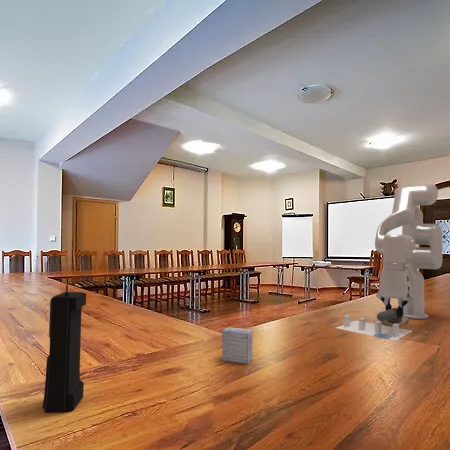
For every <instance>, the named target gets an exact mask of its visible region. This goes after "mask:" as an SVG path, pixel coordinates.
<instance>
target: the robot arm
mask: <svg viewBox="0 0 450 450" xmlns="http://www.w3.org/2000/svg"><path fill="white" fill-rule="evenodd" d="M438 197H439V191H438V187H437V186H436V184H434V183H428V184H426V183H425V184H415V185H414V184H412V185H403V186H399V187H397V188H396V189H395V190H394V200H393V205H392V211H391V214H389V216H387V217H386V218H385V219H384V220H382V221H381V223H380V224H379V225H378V227H377V230H376V234H375V239H374V248H375V250H376V251H377V252H379V253H381V254H382V255H383V257H382V263H383V265H382V266H383V267H382V268H383V270H381V271H380V276H379V283H378V286H379V287H378V291H377V293H376V294H375V296H376V298H378V299H379V300H380V301H381V302H382V303H383V304H384V307H385V310H384V311H386V310H389V309H392V308H393V307H392V304H391V298H392V299H397V304H398V307H397V318H401V317H404V318H408V319H413V320H414V319H415V320H426V319H428V318H429V314H427V313H425V278H424V276H423V273H421V272H420V270H419V269H424V270H429V269H430V270H438V269H440V268H441V267H442V265H443V232H442V228H441V226H440V225H439V224H436V223H424V213H423V211H422V210H421V208H419V207H418V206H431V205H434V203H436V201H437V200H438ZM400 227H402V228H401V229H402V230H401V232H402V233H401V234H389V232H390V231H392V230H394V229H398V228H400ZM417 245H427V246H429V247H420V246H417ZM416 246H417V247H416Z"/></svg>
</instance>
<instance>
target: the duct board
mask: <svg viewBox="0 0 450 450" xmlns="http://www.w3.org/2000/svg"><path fill="white" fill-rule="evenodd" d="M335 329H339V330H344V331H348V332H350V333H351V332H353V333H356V334H361V335H367V336H370V337H377V338H380V339H385V340H390V341H398V340H400V339H401V338H404V337H405V336H407V335H409V334H411V333H412V332H413V330H410V329H403V328H400V327H399V324H393V325H392V326H387V325H382V322H381V321H379V320H376V321H375V322H374V323H373V322H367V320H366V318H365V317H361V318H358V320H352V321H351V315H348V314H346V315H344V316H343V324H342V325H340V326H337V327H335Z"/></svg>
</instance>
